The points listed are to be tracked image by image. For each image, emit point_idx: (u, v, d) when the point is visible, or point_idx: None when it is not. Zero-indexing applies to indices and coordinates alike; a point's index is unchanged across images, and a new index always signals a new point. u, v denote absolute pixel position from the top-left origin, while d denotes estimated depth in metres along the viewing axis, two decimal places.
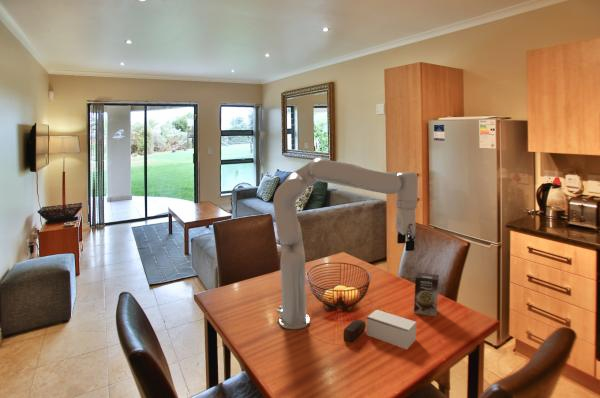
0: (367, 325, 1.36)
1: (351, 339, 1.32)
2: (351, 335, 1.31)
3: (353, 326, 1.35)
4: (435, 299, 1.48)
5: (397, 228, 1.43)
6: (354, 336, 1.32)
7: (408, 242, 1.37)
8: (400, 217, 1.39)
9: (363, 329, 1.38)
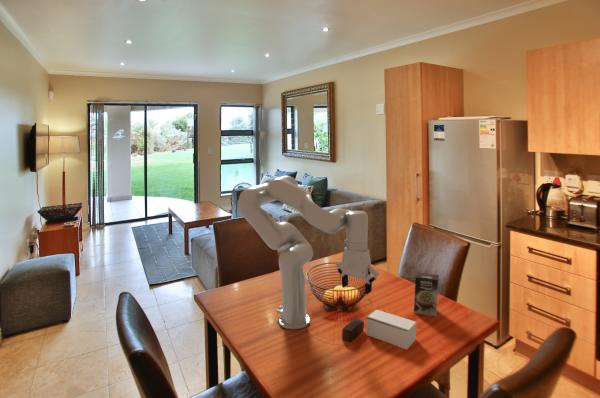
0: (367, 325, 1.36)
1: (349, 338, 1.32)
2: (349, 334, 1.32)
3: (352, 326, 1.35)
4: (435, 299, 1.48)
5: (348, 272, 1.31)
6: (352, 335, 1.33)
7: (368, 285, 1.29)
8: (356, 260, 1.29)
9: (361, 329, 1.39)
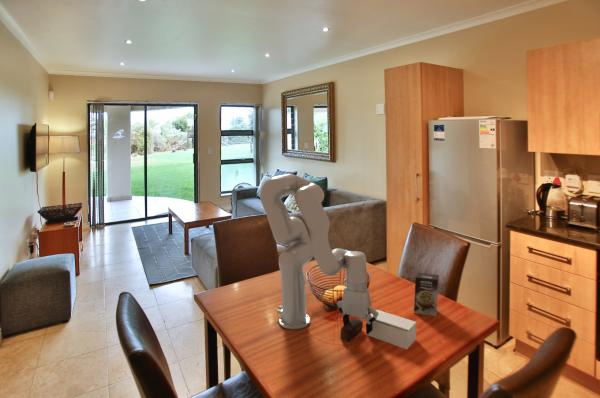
0: None
1: (348, 338, 1.32)
2: (347, 334, 1.32)
3: (350, 325, 1.35)
4: (435, 299, 1.48)
5: (349, 312, 1.34)
6: (351, 335, 1.33)
7: (369, 325, 1.31)
8: (356, 301, 1.31)
9: (360, 328, 1.39)
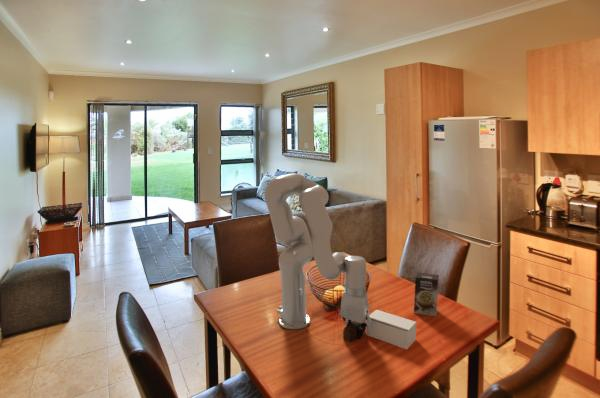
0: None
1: (350, 338, 1.32)
2: (350, 334, 1.31)
3: (353, 326, 1.35)
4: (435, 299, 1.48)
5: (347, 316, 1.34)
6: (354, 336, 1.32)
7: (360, 330, 1.34)
8: (355, 305, 1.31)
9: None
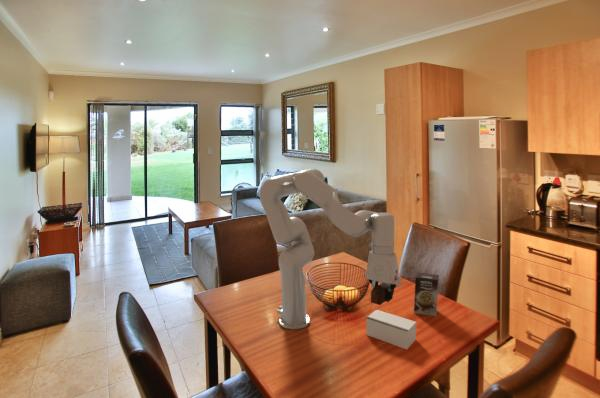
0: (367, 325, 1.36)
1: (379, 301, 1.22)
2: (379, 296, 1.22)
3: (381, 288, 1.25)
4: (435, 299, 1.48)
5: (374, 278, 1.25)
6: (382, 298, 1.23)
7: (389, 292, 1.24)
8: (383, 265, 1.22)
9: None
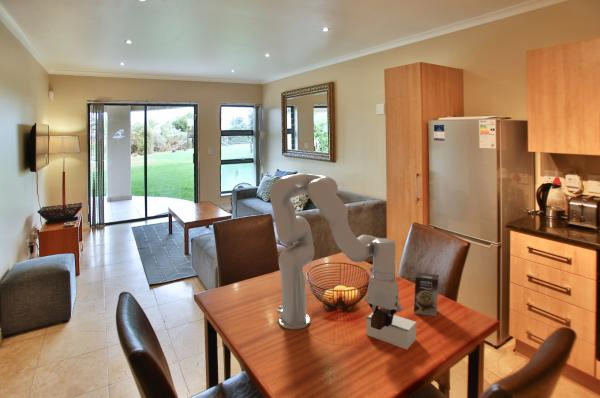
0: (367, 325, 1.36)
1: (379, 326, 1.24)
2: (379, 321, 1.24)
3: (381, 312, 1.27)
4: (435, 299, 1.48)
5: (375, 302, 1.26)
6: (382, 323, 1.24)
7: (389, 317, 1.26)
8: (383, 291, 1.23)
9: None
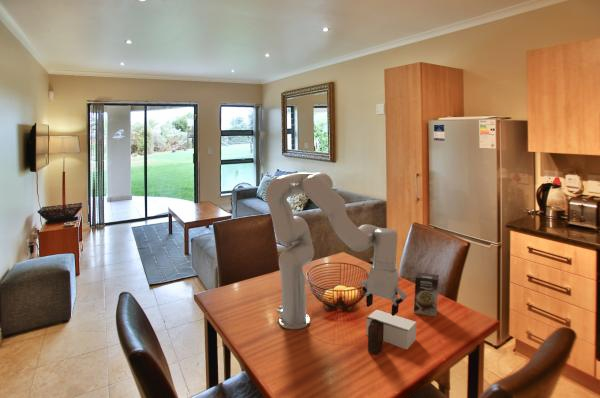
0: (367, 325, 1.36)
1: None
2: None
3: (373, 343, 1.24)
4: (435, 299, 1.48)
5: (374, 292, 1.26)
6: (380, 348, 1.26)
7: (395, 306, 1.24)
8: (384, 280, 1.23)
9: (382, 328, 1.25)
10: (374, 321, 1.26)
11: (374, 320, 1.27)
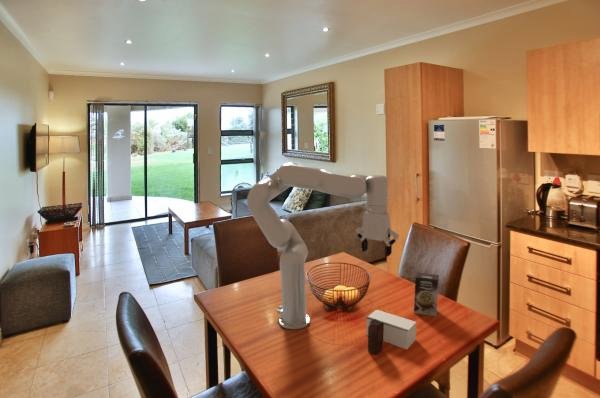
0: (367, 325, 1.36)
1: None
2: None
3: (373, 343, 1.24)
4: (435, 299, 1.48)
5: (368, 235, 1.35)
6: (380, 348, 1.26)
7: (388, 247, 1.33)
8: (376, 223, 1.32)
9: (382, 328, 1.25)
10: (374, 321, 1.26)
11: (374, 320, 1.27)
